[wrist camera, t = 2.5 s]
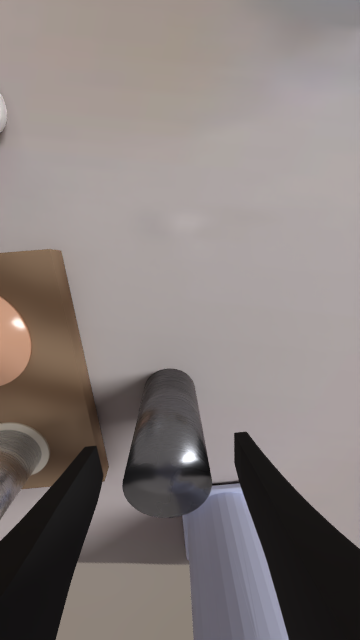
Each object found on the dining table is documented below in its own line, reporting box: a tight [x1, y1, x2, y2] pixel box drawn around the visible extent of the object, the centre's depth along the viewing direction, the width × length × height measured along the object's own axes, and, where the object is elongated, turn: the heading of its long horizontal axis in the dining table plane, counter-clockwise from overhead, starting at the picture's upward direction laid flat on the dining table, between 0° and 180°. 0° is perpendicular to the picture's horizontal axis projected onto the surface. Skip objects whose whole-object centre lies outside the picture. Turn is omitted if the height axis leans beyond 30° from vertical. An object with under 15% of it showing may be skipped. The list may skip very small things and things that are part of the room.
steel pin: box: [123, 369, 212, 518], centre depth 12 cm, size 4×4×7 cm
